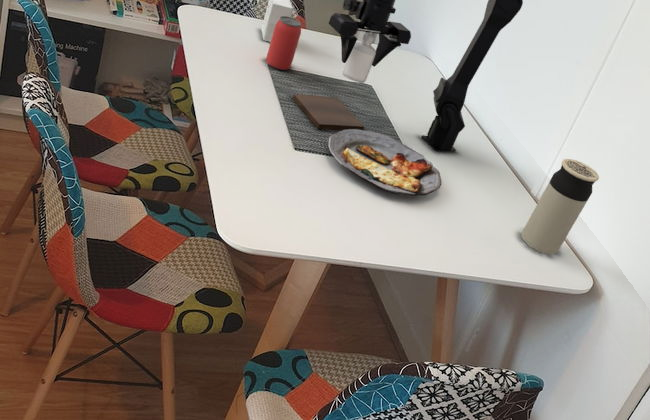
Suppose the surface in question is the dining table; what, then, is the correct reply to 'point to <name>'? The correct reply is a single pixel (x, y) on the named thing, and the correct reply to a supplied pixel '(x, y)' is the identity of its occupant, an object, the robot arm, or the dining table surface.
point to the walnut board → (327, 112)
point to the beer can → (284, 43)
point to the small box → (274, 16)
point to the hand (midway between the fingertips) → (358, 64)
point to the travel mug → (559, 206)
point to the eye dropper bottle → (360, 59)
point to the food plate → (385, 162)
